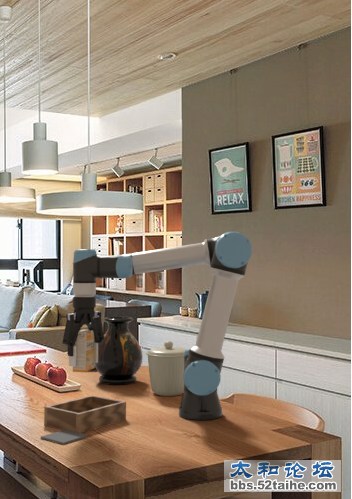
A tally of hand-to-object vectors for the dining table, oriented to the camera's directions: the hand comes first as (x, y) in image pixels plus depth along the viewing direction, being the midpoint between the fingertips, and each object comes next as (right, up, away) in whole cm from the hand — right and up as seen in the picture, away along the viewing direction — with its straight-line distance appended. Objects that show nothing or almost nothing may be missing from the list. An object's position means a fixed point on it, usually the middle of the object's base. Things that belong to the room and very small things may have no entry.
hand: (83, 364), depth 215 cm
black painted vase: (+5, -20, +70) cm, 73 cm away
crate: (0, -20, +2) cm, 20 cm away
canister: (+27, -20, +47) cm, 58 cm away
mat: (-3, -20, -17) cm, 26 cm away
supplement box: (0, -2, 0) cm, 2 cm away
